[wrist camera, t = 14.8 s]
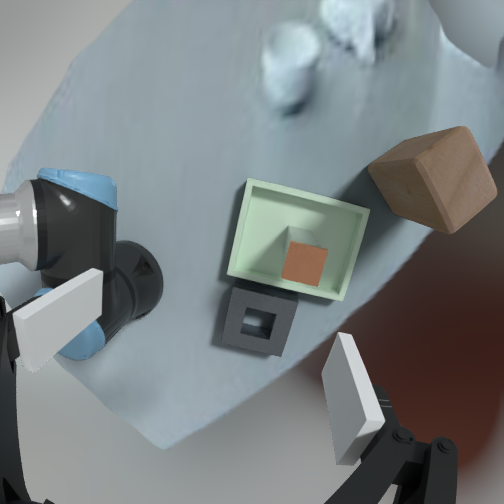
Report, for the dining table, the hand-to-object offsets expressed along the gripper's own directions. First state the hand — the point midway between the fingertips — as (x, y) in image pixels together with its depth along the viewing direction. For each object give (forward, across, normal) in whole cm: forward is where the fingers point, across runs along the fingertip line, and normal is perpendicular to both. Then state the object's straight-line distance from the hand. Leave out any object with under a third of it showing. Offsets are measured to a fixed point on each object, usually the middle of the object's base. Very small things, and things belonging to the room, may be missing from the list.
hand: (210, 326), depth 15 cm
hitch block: (+37, +4, -16) cm, 40 cm away
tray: (+37, +7, -1) cm, 37 cm away
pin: (+36, +7, -1) cm, 36 cm away
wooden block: (+37, +22, +14) cm, 45 cm away
